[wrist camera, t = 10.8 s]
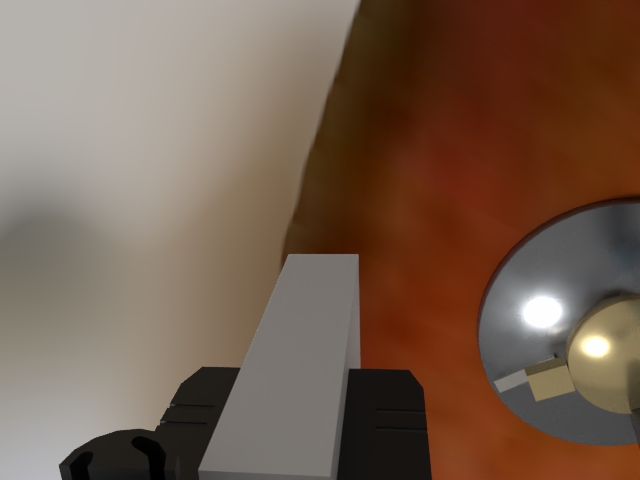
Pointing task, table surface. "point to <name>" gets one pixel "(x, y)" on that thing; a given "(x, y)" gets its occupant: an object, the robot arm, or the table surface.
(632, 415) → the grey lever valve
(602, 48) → the table surface
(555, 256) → the post plate
